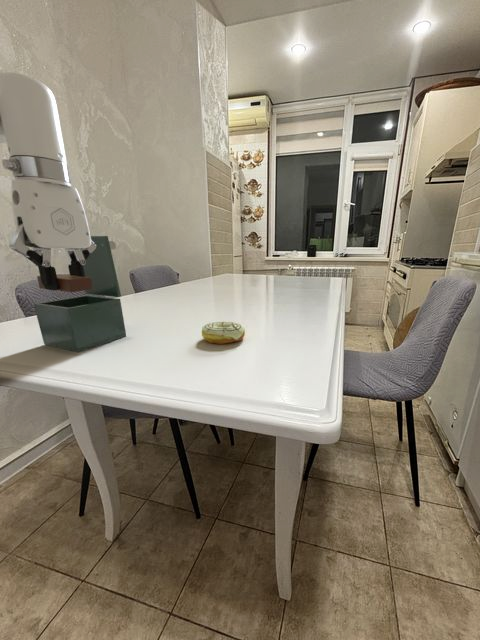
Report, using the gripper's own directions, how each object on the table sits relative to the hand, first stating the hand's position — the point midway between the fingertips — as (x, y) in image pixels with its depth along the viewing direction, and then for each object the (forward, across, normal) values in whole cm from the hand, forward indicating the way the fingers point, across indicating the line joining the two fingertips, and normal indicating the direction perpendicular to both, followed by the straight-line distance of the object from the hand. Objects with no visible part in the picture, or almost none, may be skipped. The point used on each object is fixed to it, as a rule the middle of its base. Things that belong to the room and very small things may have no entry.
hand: (66, 286), depth 54 cm
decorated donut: (+15, +25, -18) cm, 34 cm away
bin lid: (-2, +15, +12) cm, 20 cm away
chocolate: (0, 0, 0) cm, 0 cm away
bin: (+15, +10, +12) cm, 22 cm away
